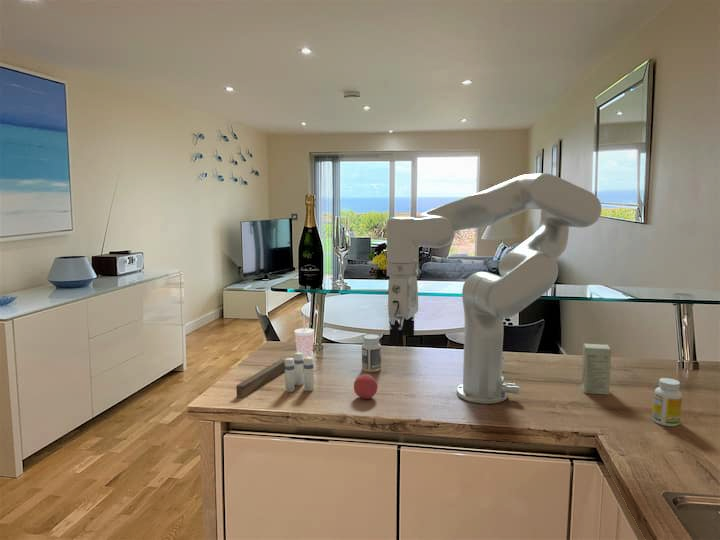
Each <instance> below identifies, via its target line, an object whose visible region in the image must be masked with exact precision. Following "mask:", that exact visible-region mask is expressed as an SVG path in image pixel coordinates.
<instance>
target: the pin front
mask: <svg viewBox="0 0 720 540" xmlns="http://www.w3.org/2000/svg"><path fill="white" fill-rule="evenodd" d="M303 379H304V384H303V386H304V391H306V392H312V391H314V389H315V388H314V357H313V356H312V357H305V358H304V361H303Z"/></svg>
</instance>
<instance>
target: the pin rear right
mask: <svg viewBox="0 0 720 540" xmlns="http://www.w3.org/2000/svg"><path fill="white" fill-rule="evenodd" d="M293 359H294V381H295V386H298V387H299V386H304V361H303V353H301V352H297V351H296V352H294V353H293Z"/></svg>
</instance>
